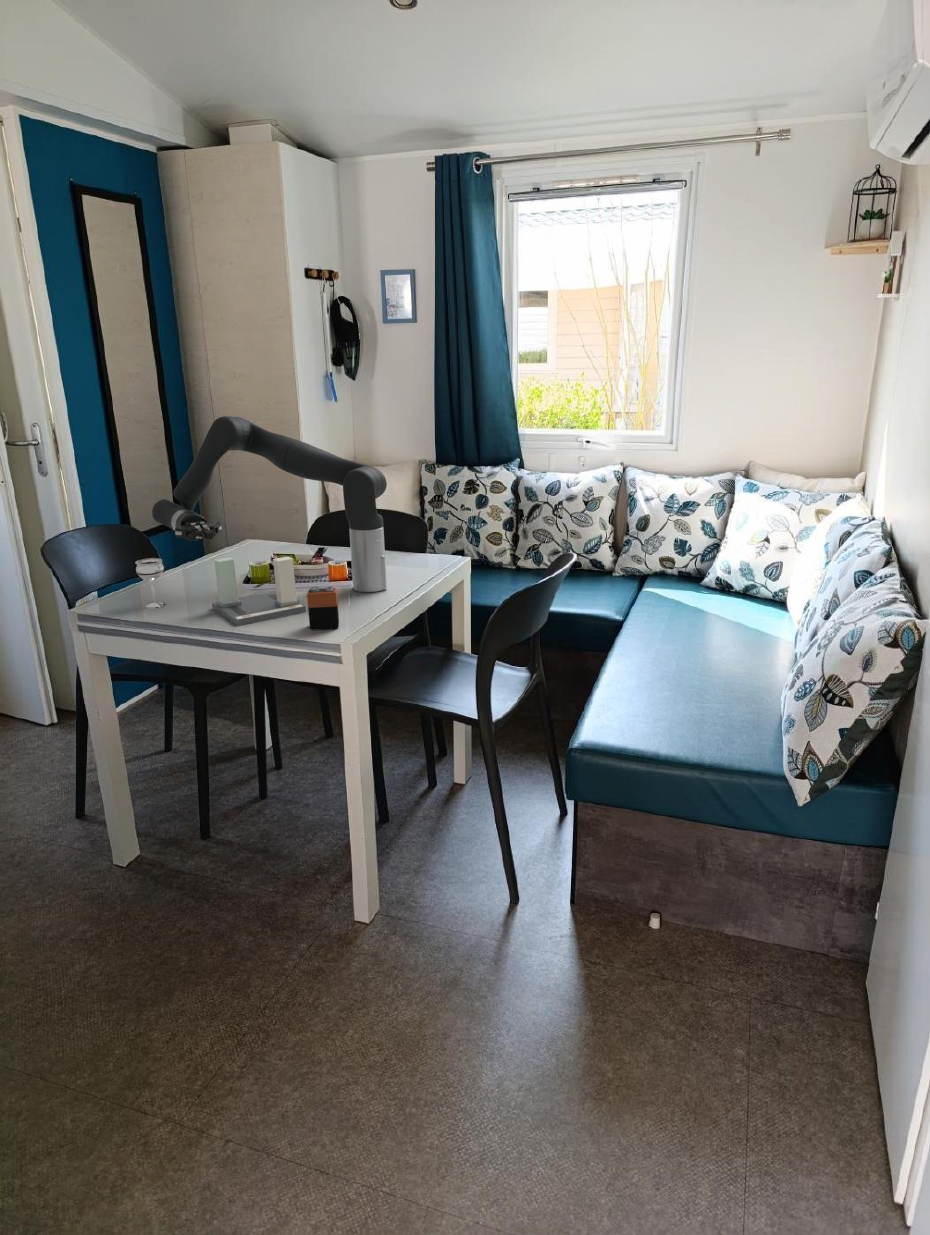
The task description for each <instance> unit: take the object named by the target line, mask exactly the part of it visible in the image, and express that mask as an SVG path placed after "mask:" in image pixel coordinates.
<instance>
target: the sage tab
mask: <svg viewBox="0 0 930 1235" xmlns="http://www.w3.org/2000/svg"><path fill="white" fill-rule="evenodd" d="M213 561H214V569H215V570H214V571H215V578H216V586H217V596H218V600H217V601H216V602H217V605H219V606H220V607H222V608H225V607H230V606H235V605H240V604H241V601H240V600H238V598H239V594H238V585H237V576H236V568H235V559H234V558H232V557H230V556H229V557H222V558H221V557H220V558H215V559H214V560H213Z"/></svg>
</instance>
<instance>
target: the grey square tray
mask: <svg viewBox="0 0 930 1235" xmlns="http://www.w3.org/2000/svg"><path fill="white" fill-rule="evenodd" d="M238 600H240V601H241V604H240V605H235V606H230V607H225V608H222V607H220V606H219V605H217V601H215V602H211V607H212V609H213V610H214V611H216V612H217V613H219V614H220V615H221V616H222V617H224V618H225V619H227V620H228V621H230V622H231V623H232V624H233V625H235V626H237V627H239V626H244V625H248V624H249V625H250V624H253V623H259V622H262V621H268V620H271V619H273V620H274V619H278V618H282V617H287V616H293V615H298V614H301V613H302V614H303V613H307V610H306V605H304V604H302V603H301V602H299V604H296V605H291V606H286V607H279V606H278V605H276V604H275V601H276V600H277V594H276V590H274V591H273V590H272V591H267V592H262V593H257V594H252V595H251V594H250V595H246V596H241V597H238ZM292 614H293V615H292Z"/></svg>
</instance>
